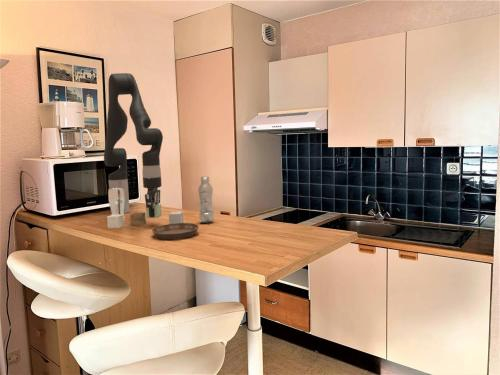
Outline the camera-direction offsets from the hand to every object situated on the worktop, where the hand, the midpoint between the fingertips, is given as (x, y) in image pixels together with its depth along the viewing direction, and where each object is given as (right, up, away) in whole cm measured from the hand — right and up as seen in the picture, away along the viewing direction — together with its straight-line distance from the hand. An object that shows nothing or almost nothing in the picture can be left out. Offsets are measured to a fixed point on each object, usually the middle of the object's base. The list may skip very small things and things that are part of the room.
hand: (154, 215), depth 169 cm
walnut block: (-8, -4, +5) cm, 10 cm away
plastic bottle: (+22, -4, +4) cm, 23 cm away
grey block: (+9, -4, +3) cm, 10 cm away
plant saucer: (+12, -7, -17) cm, 22 cm away
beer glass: (-20, -4, +15) cm, 25 cm away
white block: (-17, -5, +1) cm, 18 cm away
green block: (0, -1, 0) cm, 1 cm away
